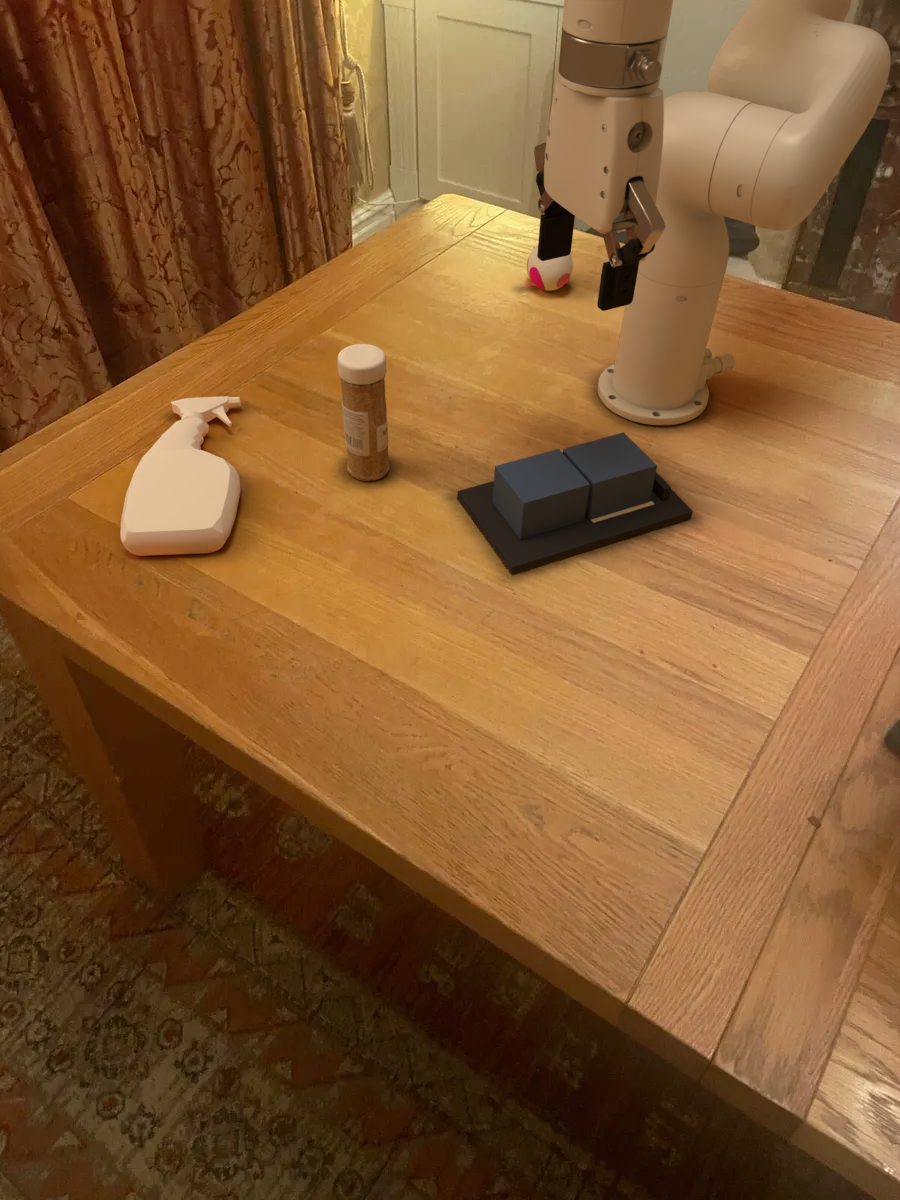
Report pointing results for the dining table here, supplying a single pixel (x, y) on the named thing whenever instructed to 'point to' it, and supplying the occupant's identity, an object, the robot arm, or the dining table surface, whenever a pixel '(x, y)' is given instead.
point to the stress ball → (549, 271)
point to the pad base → (569, 534)
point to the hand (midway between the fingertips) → (583, 280)
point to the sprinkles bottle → (364, 410)
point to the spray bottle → (182, 487)
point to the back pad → (613, 473)
